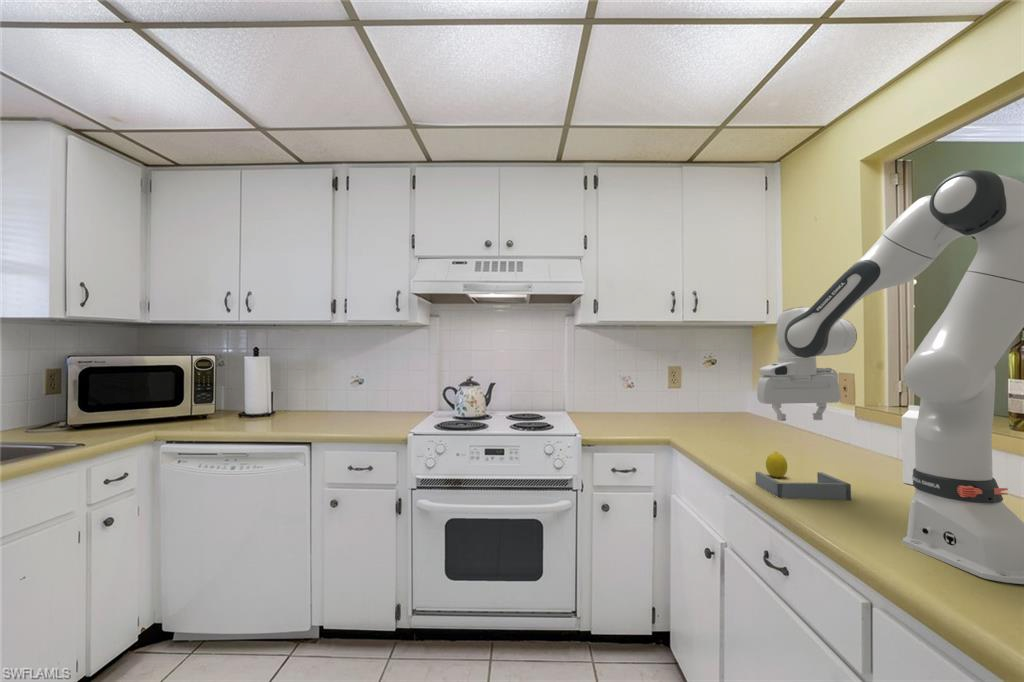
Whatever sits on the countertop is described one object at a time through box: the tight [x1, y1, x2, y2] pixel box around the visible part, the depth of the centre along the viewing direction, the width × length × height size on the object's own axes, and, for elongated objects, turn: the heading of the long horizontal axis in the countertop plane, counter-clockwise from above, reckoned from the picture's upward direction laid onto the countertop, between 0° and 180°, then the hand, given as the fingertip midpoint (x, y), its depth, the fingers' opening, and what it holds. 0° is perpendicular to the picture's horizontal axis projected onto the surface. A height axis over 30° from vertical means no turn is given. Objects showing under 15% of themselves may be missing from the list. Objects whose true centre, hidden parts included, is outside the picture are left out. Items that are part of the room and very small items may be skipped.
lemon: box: [765, 451, 788, 479], centre depth 139 cm, size 6×6×8 cm
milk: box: [901, 404, 920, 486], centre depth 133 cm, size 6×6×22 cm
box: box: [755, 471, 852, 501], centre depth 126 cm, size 12×18×4 cm, turn 87°
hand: (799, 420), depth 126 cm, fingers open, 8 cm apart
